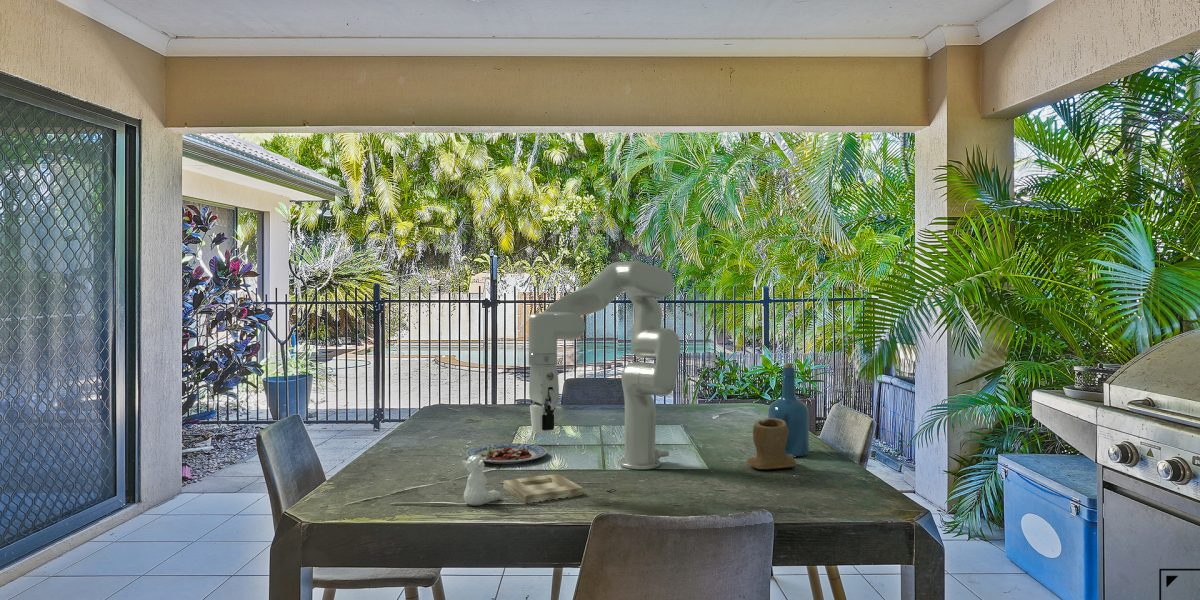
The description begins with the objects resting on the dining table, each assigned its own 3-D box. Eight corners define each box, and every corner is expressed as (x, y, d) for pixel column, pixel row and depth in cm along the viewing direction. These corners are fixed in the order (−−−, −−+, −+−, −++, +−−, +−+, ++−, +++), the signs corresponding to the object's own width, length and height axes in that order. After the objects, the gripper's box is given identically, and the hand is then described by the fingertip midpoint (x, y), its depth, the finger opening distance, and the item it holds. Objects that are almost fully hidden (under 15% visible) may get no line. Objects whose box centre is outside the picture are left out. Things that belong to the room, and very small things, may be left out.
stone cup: (758, 474, 199) (758, 423, 199) (742, 464, 210) (742, 416, 210) (806, 472, 201) (806, 421, 201) (788, 462, 213) (788, 415, 213)
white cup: (551, 434, 176) (551, 407, 176) (526, 433, 178) (526, 406, 178) (558, 429, 183) (558, 403, 183) (534, 428, 184) (534, 402, 184)
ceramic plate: (562, 455, 223) (562, 446, 223) (512, 472, 201) (512, 462, 201) (502, 446, 237) (502, 437, 237) (448, 461, 215) (449, 451, 215)
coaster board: (557, 480, 191) (557, 473, 191) (582, 495, 177) (582, 487, 177) (503, 488, 184) (503, 480, 184) (525, 503, 170) (525, 495, 170)
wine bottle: (814, 458, 219) (814, 365, 219) (773, 458, 219) (773, 365, 219) (802, 449, 233) (802, 361, 233) (763, 448, 233) (763, 361, 233)
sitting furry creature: (501, 498, 174) (501, 451, 174) (488, 508, 166) (489, 459, 166) (467, 496, 176) (467, 449, 176) (452, 505, 168) (453, 457, 168)
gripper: (569, 362, 174) (569, 432, 175) (543, 356, 190) (543, 421, 190) (542, 363, 171) (542, 434, 171) (517, 357, 186) (517, 423, 186)
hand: (542, 427), depth 180 cm, fingers closed on white cup, 6 cm apart
